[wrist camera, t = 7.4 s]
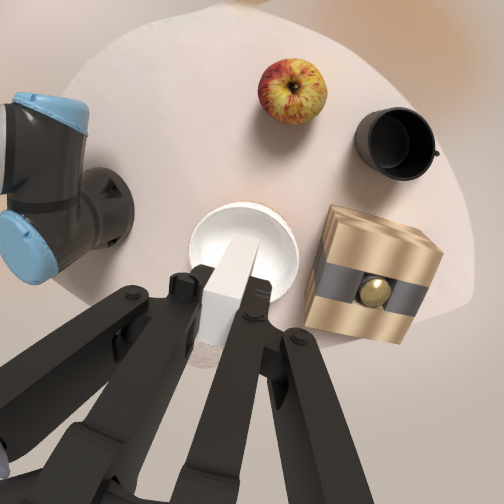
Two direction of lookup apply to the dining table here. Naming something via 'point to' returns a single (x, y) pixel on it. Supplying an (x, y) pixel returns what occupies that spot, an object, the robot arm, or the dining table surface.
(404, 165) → the mug
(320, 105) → the apple
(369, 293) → the peg
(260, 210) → the bowl
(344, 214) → the socket block
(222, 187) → the dining table surface
